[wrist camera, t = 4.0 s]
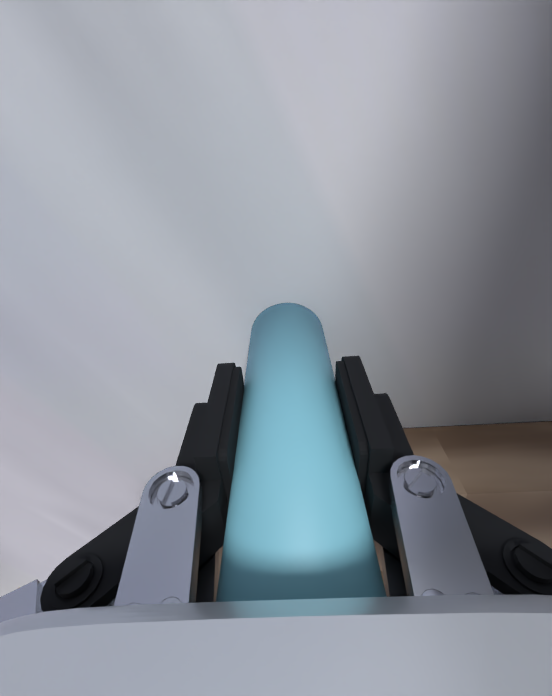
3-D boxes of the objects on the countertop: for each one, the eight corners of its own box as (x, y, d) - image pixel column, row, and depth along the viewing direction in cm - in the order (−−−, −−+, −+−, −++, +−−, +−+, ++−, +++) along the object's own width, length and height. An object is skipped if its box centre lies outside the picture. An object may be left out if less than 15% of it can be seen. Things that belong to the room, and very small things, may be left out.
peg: (247, 305, 15) (176, 706, 4) (323, 300, 14) (437, 702, 4) (254, 367, 16) (217, 763, 6) (323, 364, 16) (404, 761, 6)
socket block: (200, 437, 19) (183, 505, 15) (582, 419, 18) (654, 486, 14) (239, 590, 27) (233, 654, 24) (495, 582, 27) (527, 647, 23)
